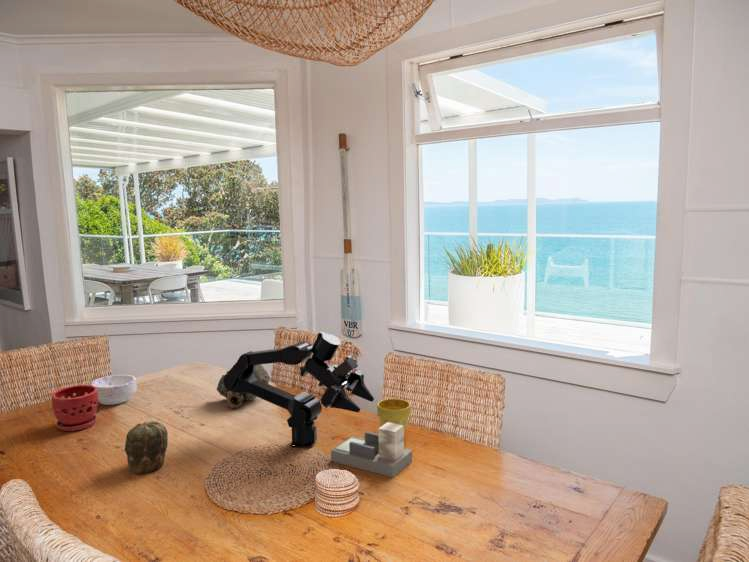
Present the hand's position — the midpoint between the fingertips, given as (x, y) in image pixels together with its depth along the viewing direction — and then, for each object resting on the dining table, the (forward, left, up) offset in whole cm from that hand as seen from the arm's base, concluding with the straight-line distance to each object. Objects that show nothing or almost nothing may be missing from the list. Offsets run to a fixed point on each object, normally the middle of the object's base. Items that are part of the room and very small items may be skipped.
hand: (366, 405), depth 151 cm
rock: (-53, +36, -15) cm, 66 cm away
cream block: (+8, -6, -11) cm, 15 cm away
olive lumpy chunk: (-58, -15, -15) cm, 62 cm away
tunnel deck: (+2, -4, -14) cm, 15 cm away
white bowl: (-100, +32, -15) cm, 106 cm away
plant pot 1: (-97, +8, -15) cm, 99 cm away
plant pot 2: (+6, +15, -15) cm, 22 cm away
